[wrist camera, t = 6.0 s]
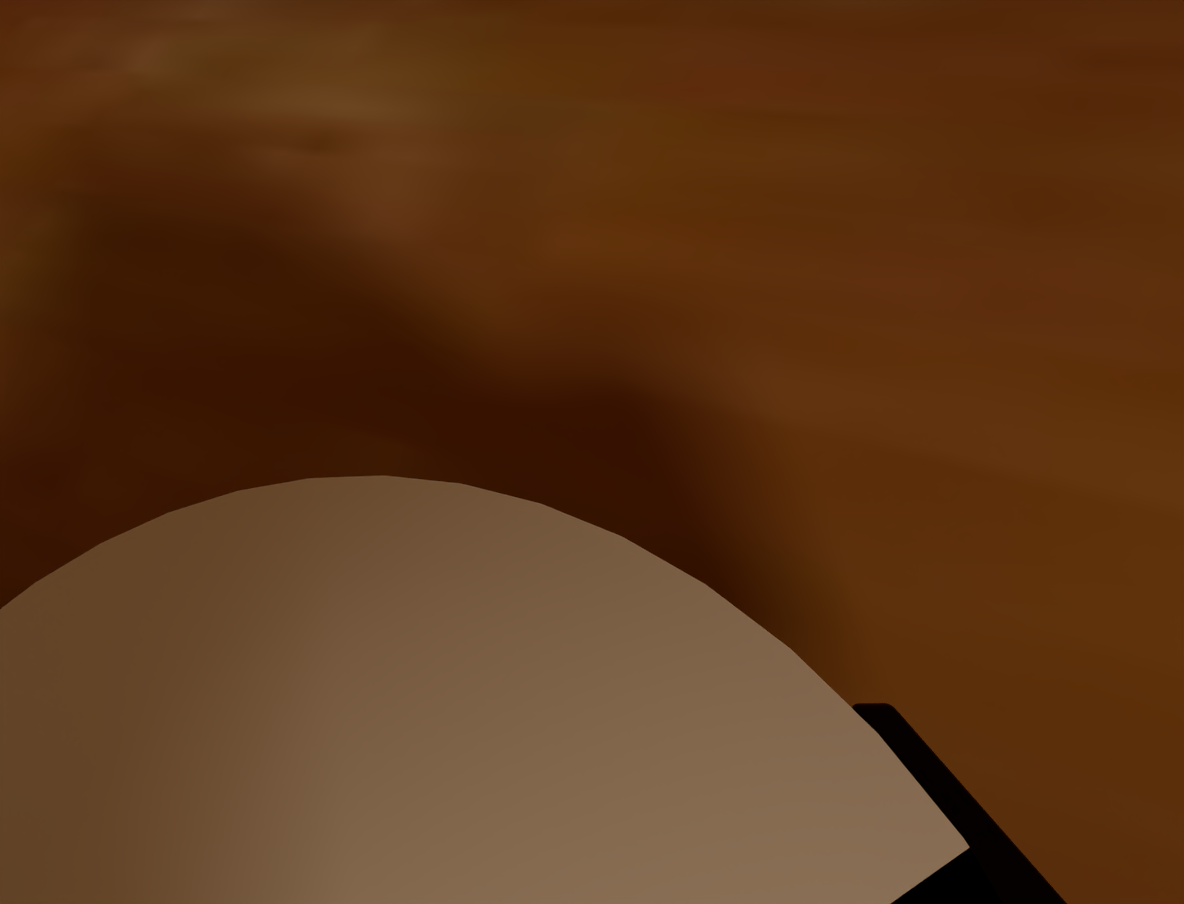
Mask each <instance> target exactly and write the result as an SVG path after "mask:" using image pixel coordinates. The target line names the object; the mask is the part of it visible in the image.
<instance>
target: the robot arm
mask: <svg viewBox="0 0 1184 904" xmlns="http://www.w3.org/2000/svg"><path fill="white" fill-rule="evenodd" d="M852 709H853V710H854V711H855V712H856V713H857V714H858V715H859V716H860V717H861V718H862V719H864V720H865V721H866V722H867V723H868V724H869V725H870V726H871V727H872V728H873V729H874V730H875V731H876V732H877V733H878V734H879V735H880V737H881V738H882V739H883V740H884V742H885V743H886V744H887V745H888V746H889V748H890V749H891V750H892V751H893V753H894V754H895V755H896V756H897V757H898V759H899V760H900V761H901V762H902V764H903V765H904V766H905V767H906V768H907V770H908V771H909V772H910V773H911V775H912V776H913V777H914V778H915V779H916V781H917V782H918V783H919V784H920V786H921V787H922V788H923V789H924V790H925V792H926V793H927V794H928V795H929V797H930V798H931V799H932V800H933V801H934V803H935V804H936V805H937V806H938V808H939V809H940V810H941V811H942V812H943V814H944V815H945V816H946V817H947V819H948V820H949V821H950V822H951V823H952V825H953V826H954V827H955V828H956V830H957V831H958V832H959V833H960V834H961V836H962V837H963V838H964V840H965V841H966V843H967V844H968V846H969V847H970V849H971V851H972V852H973V854H974V856H975V857H976V859H977V861H978V862H979V864H980V866H981V868H982V869H983V871H984V873H985V874H986V876H987V878H988V879H989V881H990V883H991V884H992V886H993V888H994V890H995V891H996V893H997V895H998V896H999V898H1000V900H1001V901H1002V903H1003V904H1067V903H1066V902H1065V901H1064V900H1063V899H1062V898H1061V896H1060V895H1059V894H1058V893H1057V892H1056V891H1055V890H1054V889H1053V887H1052V886H1051V885H1050V884H1049V883H1048V882H1047V881H1046V879H1045V878H1044V877H1043V876H1042V875H1041V874H1040V873H1039V871H1038V870H1037V869H1036V868H1035V867H1034V866H1033V865H1032V864H1031V862H1030V861H1029V860H1028V859H1027V858H1026V857H1025V856H1024V854H1023V853H1022V852H1021V851H1020V850H1019V849H1018V848H1017V846H1016V845H1015V844H1014V843H1013V842H1012V841H1011V840H1010V839H1009V837H1008V836H1007V835H1006V834H1005V833H1004V832H1003V831H1002V829H1001V828H1000V827H999V826H998V825H997V824H996V823H995V821H994V820H993V819H992V818H991V817H990V816H989V815H988V813H987V812H986V811H985V810H984V809H983V808H982V807H981V806H980V804H979V803H978V802H977V801H976V800H975V799H974V798H973V796H972V795H971V794H970V793H969V792H968V791H967V790H966V788H965V787H964V786H963V785H962V784H961V783H960V782H959V781H958V779H957V778H956V777H955V776H954V775H953V774H952V773H951V771H950V770H949V769H948V768H947V767H946V766H945V765H944V763H943V762H942V761H941V760H940V759H939V758H938V757H937V756H936V754H935V753H934V752H933V751H932V750H931V749H930V748H929V746H928V745H927V744H926V743H925V742H924V741H923V740H922V738H921V737H920V736H919V735H918V734H917V733H916V732H915V731H914V729H913V728H912V727H911V726H910V725H909V724H908V723H907V721H906V720H905V719H904V718H903V717H902V716H901V715H900V713H899V712H898V711H897V710H896V709H895V708H894V707H893V706H891V705H889V704H887V703H859V704H855V705H854V706H852Z"/></svg>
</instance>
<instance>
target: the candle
mask: <svg viewBox="0 0 1184 904" xmlns="http://www.w3.org/2000/svg"><path fill="white" fill-rule="evenodd" d="M0 904H1003V903H1002V901H1001V900H1000V898H999V896H998V895H997V893H996V891H995V890H994V888H993V886H992V884H991V883H990V881H989V879H988V878H987V876H986V874H985V873H984V871H983V869H982V868H981V866H980V864H979V862H978V861H977V859H976V857H975V856H974V854H973V852H972V851H971V849H970V847H969V846H968V844H967V843H966V841H965V840H964V838H963V837H962V836H961V834H960V833H959V832H958V831H957V830H956V828H955V827H954V826H953V825H952V823H951V822H950V821H949V820H948V819H947V817H946V816H945V815H944V814H943V812H942V811H941V810H940V809H939V808H938V806H937V805H936V804H935V803H934V801H933V800H932V799H931V798H930V797H929V795H928V794H927V793H926V792H925V790H924V789H923V788H922V787H921V786H920V784H919V783H918V782H917V781H916V779H915V778H914V777H913V776H912V775H911V773H910V772H909V771H908V770H907V768H906V767H905V766H904V765H903V764H902V762H901V761H900V760H899V759H898V757H897V756H896V755H895V754H894V753H893V751H892V750H891V749H890V748H889V746H888V745H887V744H886V743H885V742H884V740H883V739H882V738H881V737H880V735H879V734H878V733H877V732H876V731H875V730H874V729H873V728H872V727H871V726H870V725H869V724H868V723H867V722H866V721H865V720H864V719H862V718H861V717H860V716H859V715H858V714H857V713H856V712H855V711H854V710H853V709H852V708H851V707H850V706H849V705H848V704H847V703H846V702H845V701H844V700H843V699H842V698H841V697H840V696H839V695H838V694H837V693H836V692H835V691H834V690H833V689H832V688H831V687H830V686H828V685H827V684H826V683H825V682H824V681H823V680H822V679H821V678H820V677H819V676H818V675H817V674H816V673H815V672H814V671H813V670H812V669H811V668H810V667H809V666H808V665H807V664H806V663H805V662H804V661H803V660H802V659H801V658H800V657H799V656H798V655H797V654H796V653H795V652H793V651H792V650H791V649H790V648H789V647H788V646H786V645H785V644H784V643H782V642H781V641H780V640H778V639H777V638H776V637H774V636H773V635H772V634H770V633H769V632H768V631H766V630H765V629H764V628H762V627H761V626H760V625H759V624H757V623H756V622H755V621H753V620H752V619H751V618H749V617H748V616H747V615H745V614H744V613H743V612H741V611H740V610H739V609H737V608H736V607H735V606H733V605H732V604H731V603H730V602H728V601H727V600H726V599H724V598H723V597H722V596H720V595H719V594H718V593H716V592H715V591H714V590H712V589H711V588H710V587H708V586H707V585H706V584H704V583H702V582H701V581H699V580H697V579H695V578H694V577H692V576H690V575H688V574H687V573H685V572H683V571H681V570H680V569H678V568H676V567H674V566H673V565H671V564H669V563H667V562H666V561H664V560H662V559H660V558H659V557H657V556H655V555H653V554H652V553H650V552H648V551H647V550H645V549H643V548H641V547H640V546H638V545H636V544H634V543H633V542H631V541H629V540H627V539H626V538H624V537H622V536H620V535H617V534H615V533H612V532H610V531H607V530H605V529H602V528H600V527H597V526H595V525H592V524H590V523H588V522H585V521H583V520H580V519H578V518H575V517H573V516H570V515H568V514H565V513H563V512H560V511H558V510H556V509H553V508H551V507H548V506H546V505H543V504H541V503H537V502H533V501H529V500H525V499H521V498H517V497H513V496H509V495H505V494H501V493H497V492H493V491H489V490H485V489H481V488H477V487H473V486H469V485H465V484H461V483H452V482H442V481H433V480H423V479H414V478H404V477H395V476H385V475H383V476H355V477H327V478H308V479H302V480H296V481H291V482H285V483H279V484H273V485H268V486H262V487H256V488H251V489H245V490H239V491H235V492H232V493H229V494H226V495H223V496H219V497H216V498H213V499H210V500H207V501H203V502H200V503H197V504H194V505H191V506H188V507H184V508H181V509H178V510H175V511H172V512H168V513H166V514H164V515H162V516H160V517H157V518H155V519H153V520H151V521H149V522H146V523H144V524H142V525H140V526H138V527H135V528H133V529H131V530H129V531H127V532H124V533H122V534H120V535H118V536H116V537H113V538H111V539H109V540H107V541H105V542H102V543H100V544H99V545H97V546H95V547H94V548H92V549H90V550H89V551H87V552H85V553H84V554H82V555H80V556H79V557H77V558H75V559H74V560H72V561H70V562H69V563H67V564H65V565H64V566H62V567H60V568H59V569H57V570H55V571H54V572H52V573H50V574H49V575H47V576H45V577H44V578H42V579H40V580H39V581H37V582H35V583H34V584H33V585H31V586H30V587H29V588H27V589H26V590H25V591H23V592H22V593H21V594H20V595H18V596H17V597H16V598H14V599H13V600H12V601H10V602H9V603H8V604H6V605H5V606H4V607H2V608H1V609H0Z"/></svg>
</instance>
